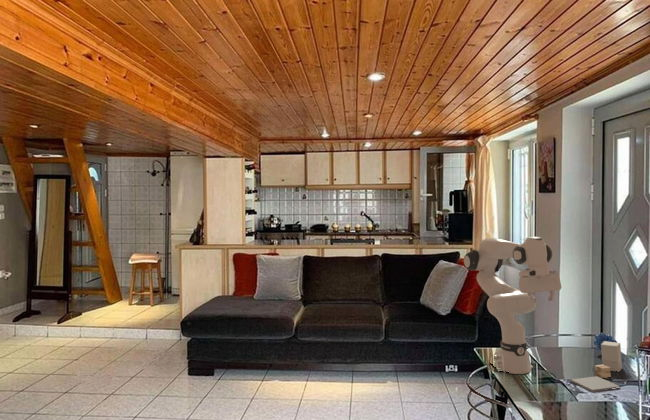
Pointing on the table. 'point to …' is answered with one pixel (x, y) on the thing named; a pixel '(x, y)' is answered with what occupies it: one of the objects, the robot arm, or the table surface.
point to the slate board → (594, 383)
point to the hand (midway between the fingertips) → (542, 301)
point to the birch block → (602, 371)
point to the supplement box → (611, 355)
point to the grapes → (602, 340)
